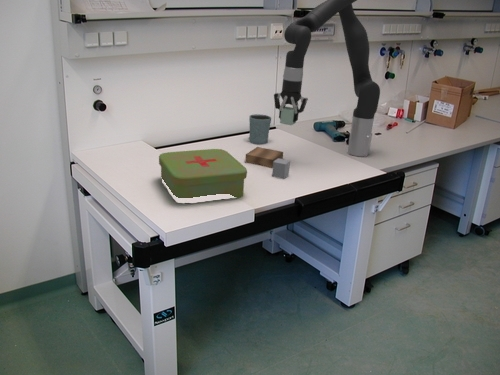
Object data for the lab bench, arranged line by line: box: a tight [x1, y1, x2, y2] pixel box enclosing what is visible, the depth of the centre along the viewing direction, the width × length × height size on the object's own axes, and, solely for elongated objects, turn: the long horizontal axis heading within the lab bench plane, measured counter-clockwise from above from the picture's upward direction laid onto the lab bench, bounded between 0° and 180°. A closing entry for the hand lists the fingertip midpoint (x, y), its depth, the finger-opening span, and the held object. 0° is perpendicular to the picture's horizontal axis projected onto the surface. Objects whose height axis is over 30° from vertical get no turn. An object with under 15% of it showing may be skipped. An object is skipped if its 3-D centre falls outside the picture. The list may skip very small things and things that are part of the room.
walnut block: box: [245, 146, 284, 169], centre depth 205 cm, size 12×12×4 cm
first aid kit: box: [158, 148, 248, 199], centre depth 174 cm, size 26×26×10 cm
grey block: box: [271, 158, 291, 180], centre depth 190 cm, size 5×5×6 cm
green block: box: [279, 106, 297, 126], centre depth 197 cm, size 5×5×6 cm
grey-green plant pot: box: [248, 113, 272, 145], centre depth 228 cm, size 10×10×12 cm
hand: (288, 120), depth 198 cm, fingers closed on green block, 5 cm apart
